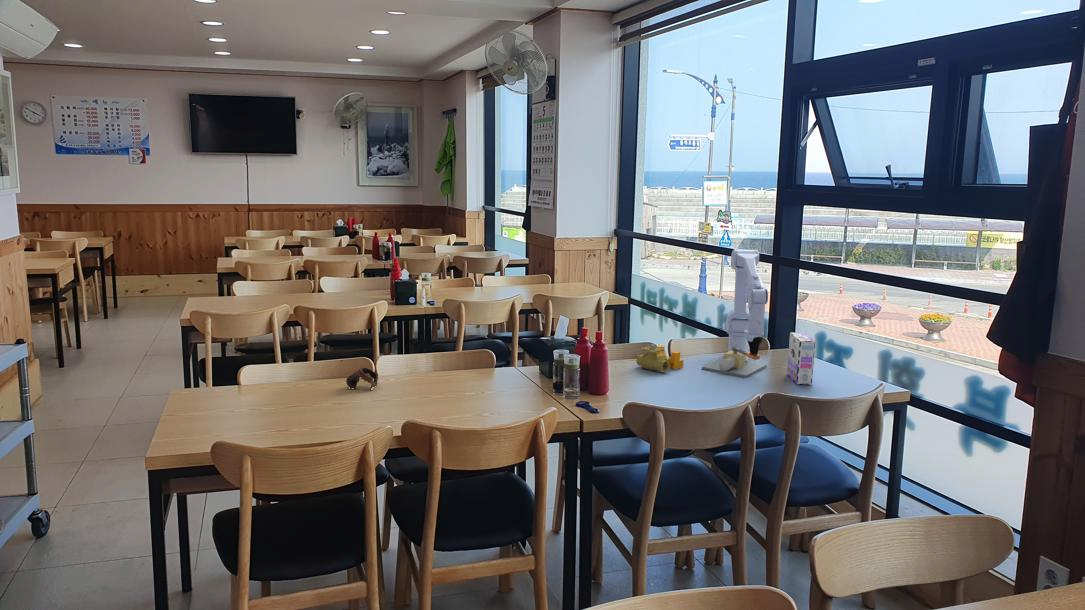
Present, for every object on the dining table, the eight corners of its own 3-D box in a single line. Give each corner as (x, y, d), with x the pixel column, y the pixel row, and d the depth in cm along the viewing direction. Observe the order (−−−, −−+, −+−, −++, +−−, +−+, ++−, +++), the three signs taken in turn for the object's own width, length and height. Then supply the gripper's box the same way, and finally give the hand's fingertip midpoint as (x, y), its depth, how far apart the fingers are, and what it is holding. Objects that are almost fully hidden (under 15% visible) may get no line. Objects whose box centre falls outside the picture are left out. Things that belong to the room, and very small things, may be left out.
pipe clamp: (683, 368, 315) (683, 351, 313) (674, 369, 313) (674, 353, 311) (664, 360, 325) (665, 344, 324) (655, 361, 323) (656, 346, 322)
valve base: (723, 359, 328) (724, 342, 326) (766, 367, 317) (767, 349, 315) (701, 369, 313) (702, 351, 311) (746, 378, 302) (747, 359, 301)
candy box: (812, 385, 294) (816, 341, 291) (796, 385, 294) (799, 340, 291) (802, 374, 307) (805, 332, 304) (786, 374, 308) (789, 331, 304)
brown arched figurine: (357, 384, 289) (368, 365, 288) (374, 400, 286) (386, 380, 284) (334, 384, 279) (346, 364, 277) (352, 400, 275) (364, 380, 273)
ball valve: (633, 368, 313) (634, 343, 311) (651, 363, 320) (652, 338, 318) (659, 375, 304) (660, 349, 302) (676, 370, 311) (678, 345, 309)
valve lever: (730, 350, 314) (730, 347, 314) (736, 350, 315) (736, 346, 315) (754, 359, 301) (754, 356, 301) (759, 359, 302) (760, 355, 302)
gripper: (751, 315, 312) (748, 350, 315) (739, 323, 300) (737, 358, 302) (769, 318, 308) (767, 353, 311) (758, 325, 296) (756, 361, 299)
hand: (753, 356), depth 307 cm, fingers closed, pressing on valve lever
